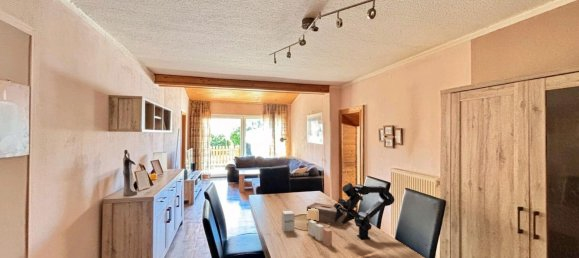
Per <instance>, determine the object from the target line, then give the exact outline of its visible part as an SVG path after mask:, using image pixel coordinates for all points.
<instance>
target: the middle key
mask: <svg viewBox="0 0 579 258" xmlns="http://www.w3.org/2000/svg"><path fill="white" fill-rule="evenodd" d="M323 228H325V226H324V225H322V224H321V223H317V224H315V236H314V239H315V240H318V242H323Z"/></svg>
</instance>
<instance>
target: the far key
mask: <svg viewBox="0 0 579 258" xmlns="http://www.w3.org/2000/svg"><path fill="white" fill-rule="evenodd" d="M315 224H318V222H317V221H313V220H308V224H307V225H308V228H307V230H308V231H307V233H308V235H310V236H311V237H315Z"/></svg>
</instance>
